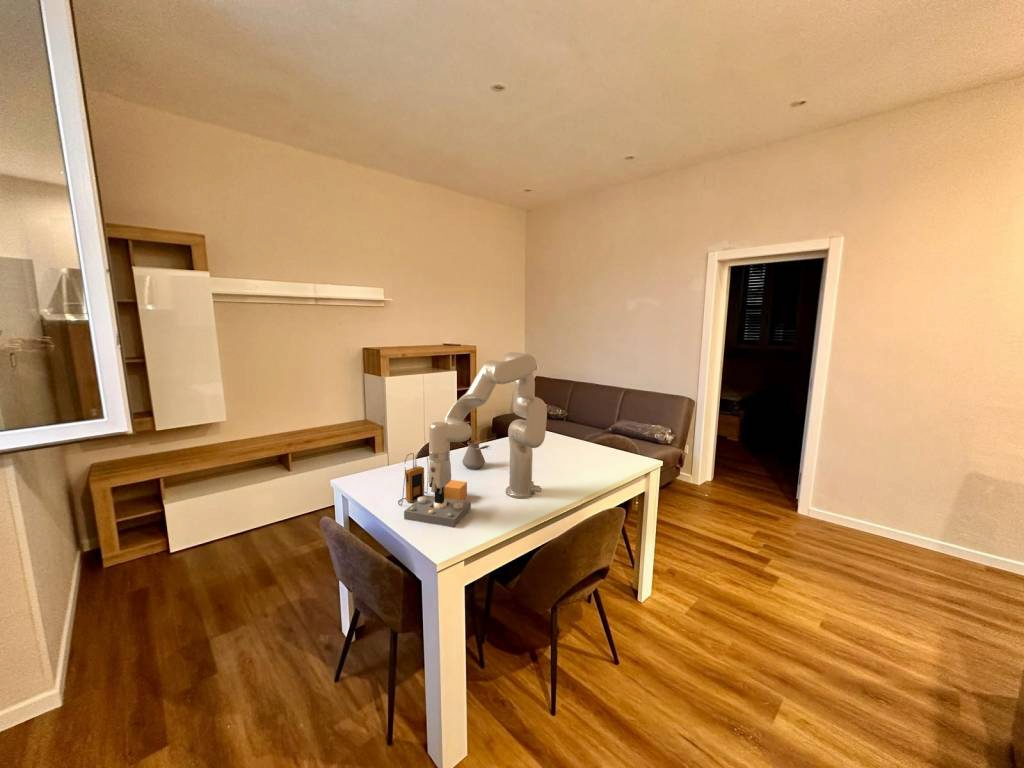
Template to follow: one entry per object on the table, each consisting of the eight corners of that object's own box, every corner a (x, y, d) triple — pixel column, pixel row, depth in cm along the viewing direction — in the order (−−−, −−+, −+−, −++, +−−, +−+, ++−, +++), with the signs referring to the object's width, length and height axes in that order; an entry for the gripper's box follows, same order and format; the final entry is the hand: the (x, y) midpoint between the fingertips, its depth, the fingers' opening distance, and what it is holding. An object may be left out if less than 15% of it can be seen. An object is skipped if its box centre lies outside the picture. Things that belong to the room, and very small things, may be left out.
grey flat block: (470, 509, 156) (470, 498, 156) (454, 527, 142) (454, 515, 141) (424, 502, 162) (424, 491, 161) (404, 519, 147) (403, 507, 147)
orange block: (466, 495, 169) (466, 482, 168) (459, 503, 162) (459, 488, 161) (450, 493, 171) (450, 479, 170) (442, 500, 164) (442, 486, 163)
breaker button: (448, 507, 155) (448, 500, 154) (443, 513, 150) (443, 505, 150) (437, 506, 156) (437, 498, 156) (431, 511, 151) (431, 504, 151)
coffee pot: (458, 465, 205) (458, 436, 203) (478, 461, 211) (478, 433, 209) (478, 479, 187) (478, 447, 185) (499, 474, 193) (499, 444, 191)
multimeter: (416, 488, 175) (416, 443, 172) (431, 495, 169) (431, 448, 166) (387, 499, 164) (385, 451, 161) (402, 506, 158) (400, 457, 155)
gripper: (439, 462, 142) (439, 512, 144) (457, 450, 156) (456, 496, 159) (420, 460, 144) (420, 509, 146) (439, 448, 158) (439, 493, 161)
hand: (439, 502), depth 152 cm, fingers closed
